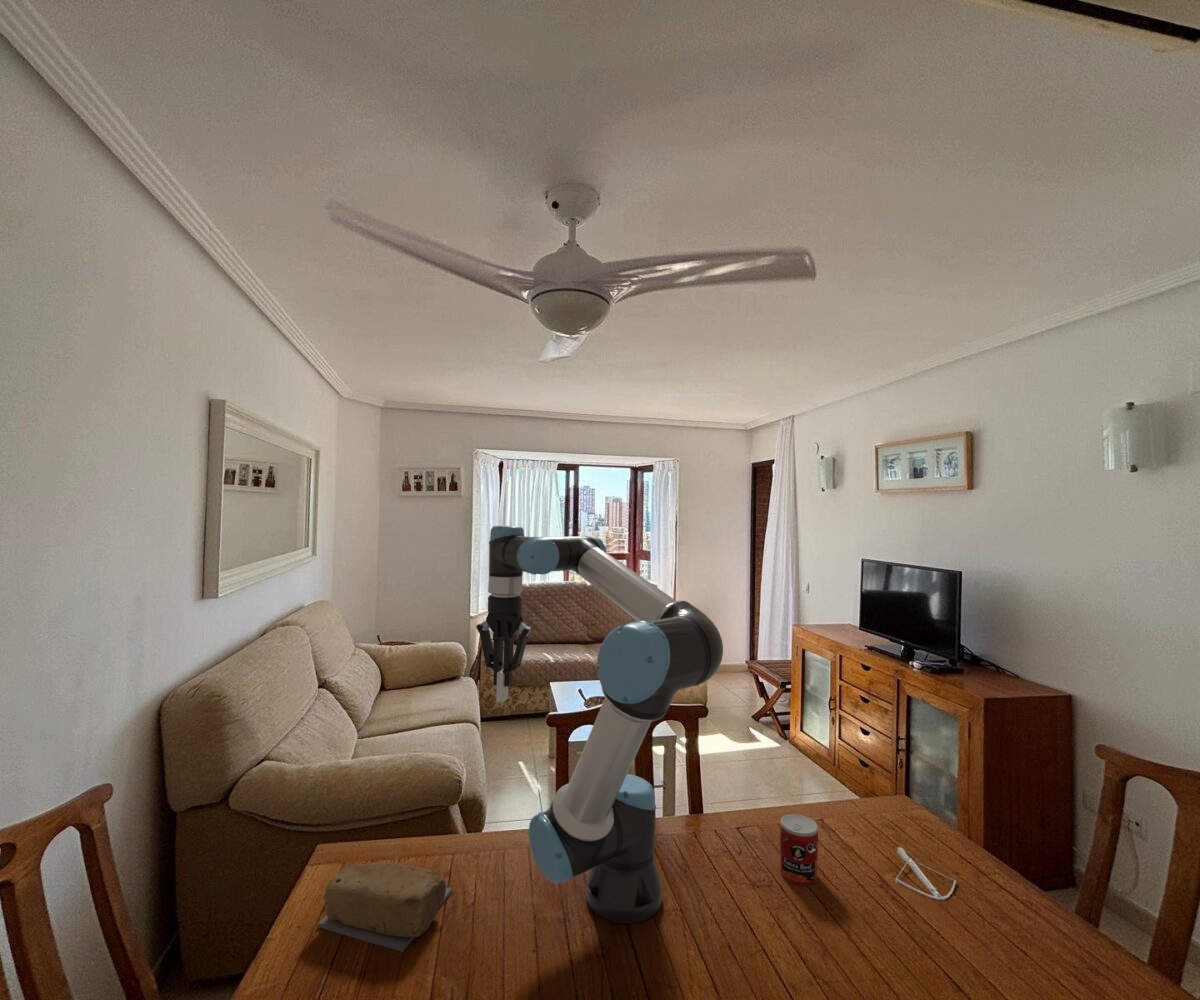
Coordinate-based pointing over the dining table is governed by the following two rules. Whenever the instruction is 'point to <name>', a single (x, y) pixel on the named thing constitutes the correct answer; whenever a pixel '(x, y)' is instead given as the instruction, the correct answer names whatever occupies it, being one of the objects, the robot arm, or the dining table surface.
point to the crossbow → (921, 878)
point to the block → (385, 898)
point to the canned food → (798, 849)
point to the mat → (370, 932)
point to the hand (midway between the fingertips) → (502, 700)
